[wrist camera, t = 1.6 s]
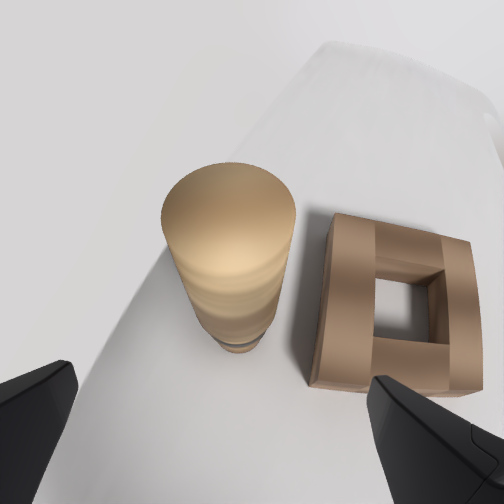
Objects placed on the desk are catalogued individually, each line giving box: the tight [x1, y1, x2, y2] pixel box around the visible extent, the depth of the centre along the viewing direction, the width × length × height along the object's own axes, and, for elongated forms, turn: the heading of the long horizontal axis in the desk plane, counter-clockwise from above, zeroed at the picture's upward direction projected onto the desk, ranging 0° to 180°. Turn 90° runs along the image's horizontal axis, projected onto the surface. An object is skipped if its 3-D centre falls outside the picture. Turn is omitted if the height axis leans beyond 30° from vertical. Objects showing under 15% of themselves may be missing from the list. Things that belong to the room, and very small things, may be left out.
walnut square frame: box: [309, 213, 483, 397], centre depth 21 cm, size 12×12×3 cm
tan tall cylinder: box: [161, 162, 296, 353], centre depth 16 cm, size 4×4×13 cm
